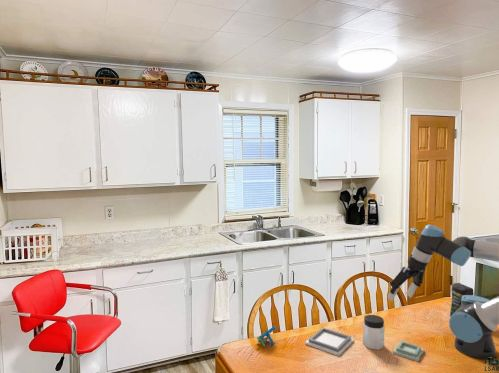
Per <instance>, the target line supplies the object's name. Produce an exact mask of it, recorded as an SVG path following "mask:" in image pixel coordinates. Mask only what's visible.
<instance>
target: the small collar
mask: <svg viewBox="0 0 499 373" xmlns="http://www.w3.org/2000/svg"><path fill="white" fill-rule="evenodd" d="M424 351H425V349H424V348H423V347H421V346H420V345H417V344H414V343H411V342H407V341H404V340H401V341H399V342H398V343H397V345H396V346H395V348H394V349H393V350H392V355H393V354H394V355H397V356H399V357H403V358H406V359H408V360H412V361H415V362H419V360H420V359H421V358H422V356H423V354H424Z"/></svg>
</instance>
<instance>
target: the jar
mask: <svg viewBox="0 0 499 373" xmlns="http://www.w3.org/2000/svg"><path fill="white" fill-rule="evenodd" d="M363 320H364V321H363V324H362V344H363V345H364V346H365V347H366V348H367V349H371V350H377V351H378V350H379V351H380V350H381V349H382V348H383V347H384V346H385V329H386V328H385V322H384V318H383V317H382V316H379V315H376V314H367V315H365V316H364V318H363Z"/></svg>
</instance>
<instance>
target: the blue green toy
mask: <svg viewBox="0 0 499 373" xmlns="http://www.w3.org/2000/svg"><path fill="white" fill-rule="evenodd" d="M276 329H277V326H275V325H274V326H273V327H271V328H270V329H268V330H265V331H264V332H263V333H262V334H260V335H259V336H257V337H256V339H257V341H258V342H259V343H261V344H262V345H263V347H266V345H265V343H264V341H265V340H267V339H268V340H269V342H270V343H271V345H272V344H274V343H275V342H274V341H273V339H272V337H271V333H272V332H274V331H275V330H276Z"/></svg>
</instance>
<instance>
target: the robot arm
mask: <svg viewBox="0 0 499 373" xmlns="http://www.w3.org/2000/svg"><path fill="white" fill-rule="evenodd" d="M434 253H435V254H438V255H439V256H441V257H443V258H445V259H446V260H447V261H450V262H451V263H452V264H455V265H457V266H460V267H464V266H465V265H466V263H467V262H468V260H469V259H470V258H476V259H481V260H487V261H492V262H498V263H499V242H493V241H486V240H479V239H474V238H470V237H468V236H458V237H456V238H455V239H453V240H450V239H448V238H447V237H445V236H444V230H443V229H441V228H440V227H438V226H437V225H433V224H426V225H425V227H423V230H422V232H421V233H420V235H419V238H418V240H417V242H416V243H415V246H414V247H413V249H412V252H411V254H410V256H409V257H408V259H407V263H408V266H407V267H406V266H403V267H402V268H401V269H400V271H399V273H398V274H397V275H396V276H395V277H394V278H393V279H392V281H391V282H390V283H389V285H390V286H391V289H390V290H389V293H388V294H387V296H386V297H387V298H388V300H390V301H391V302H394V299H395V298H396V295H397V293H398V292H399V290H400V289H399V288H400V287H401V286H402V285H403V284H404V283H405V282H406V281H407V280H410V279H411V278H412V282H410V285H409V287H408V288H407V291H406V293H405V295H406V296H408V297H409V298H410V299H412V298H413V296H414V294H415V292H416V290H417V288H418V287H419V288H420V287H421V285H422V284H423V281H424V275H425V271H426V269H427V267H428V264H429V262H430V261H431V258H432V257H433V255H434ZM448 322H449V323H448V326H449V328H450V331H451V333H453V335H454V336H455V339H454V343H453V344H454V347H455V349H456V350H457V351H458V352H460V353H462V354H464V355H466V356H469V357H472V358H475V359H480V360H481V359H483V360H488V359H487V358H488V357H494V358H495V357H496V353H497V352H496V351H497V349H496V345H495V342H494V339H493V332H496V331H497V330H498V326H499V295H498V296H496V297H494V298H491V299H489V298H485V297H482V296H478V295H464V296H462V299H461V307H460V308H459V309H458V310H457V311H456V312H455V313H453V314H452V315H451V317H450V318H449V321H448Z"/></svg>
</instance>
